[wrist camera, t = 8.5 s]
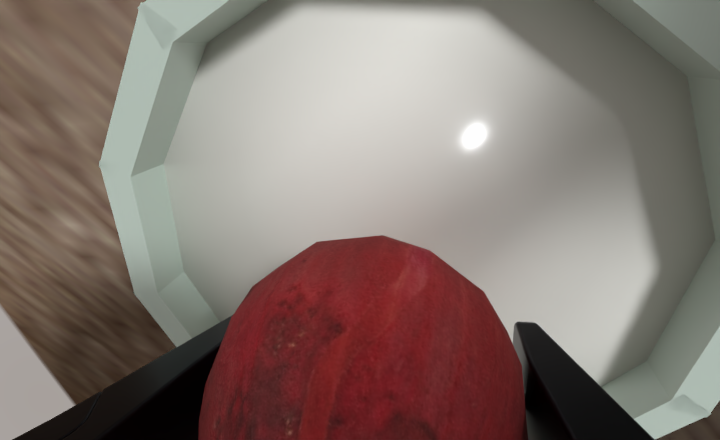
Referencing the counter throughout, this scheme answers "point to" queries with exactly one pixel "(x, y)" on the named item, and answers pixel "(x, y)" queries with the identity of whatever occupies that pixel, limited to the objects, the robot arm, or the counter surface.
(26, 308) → the counter surface
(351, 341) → the onion
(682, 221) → the plate
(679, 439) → the counter surface
